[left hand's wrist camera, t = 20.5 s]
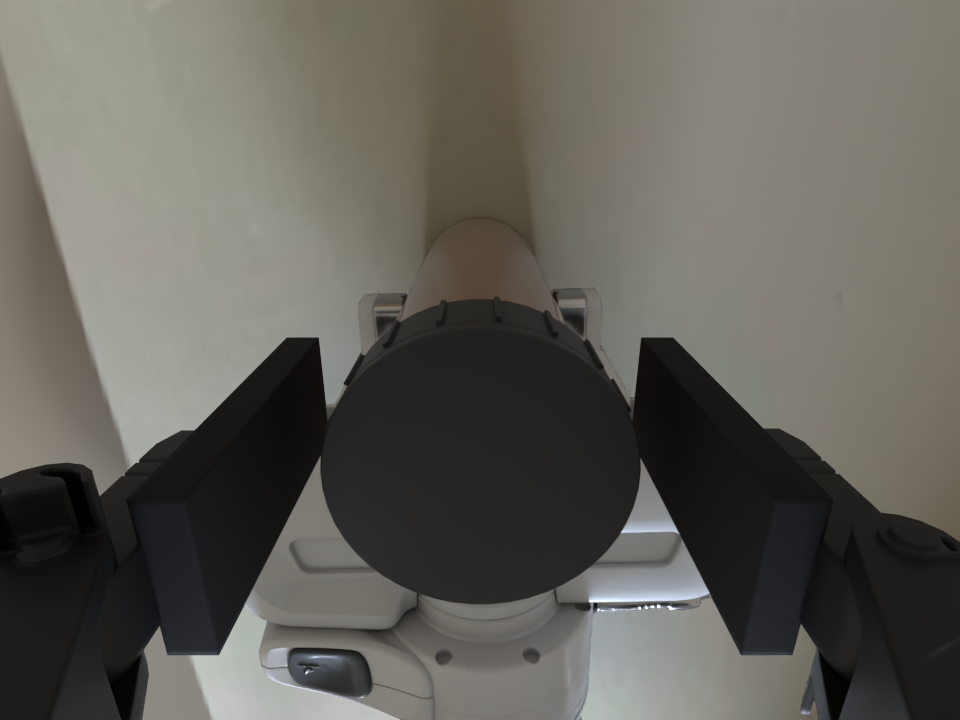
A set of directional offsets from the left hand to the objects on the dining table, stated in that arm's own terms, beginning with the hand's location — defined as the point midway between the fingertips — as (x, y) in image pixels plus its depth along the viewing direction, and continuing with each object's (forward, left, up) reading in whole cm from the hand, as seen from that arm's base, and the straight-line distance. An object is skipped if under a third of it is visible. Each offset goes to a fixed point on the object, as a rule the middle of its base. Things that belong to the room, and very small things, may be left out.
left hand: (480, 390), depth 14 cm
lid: (0, 0, +4) cm, 4 cm away
